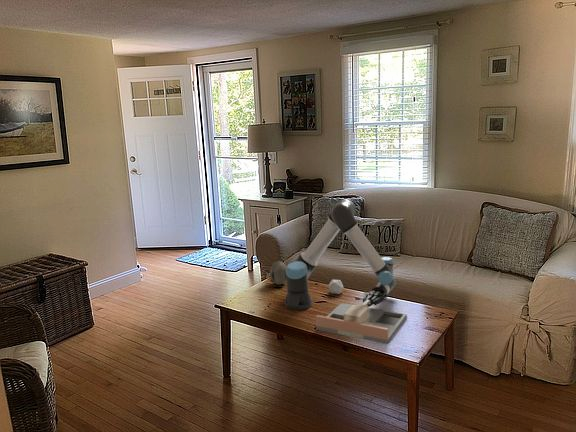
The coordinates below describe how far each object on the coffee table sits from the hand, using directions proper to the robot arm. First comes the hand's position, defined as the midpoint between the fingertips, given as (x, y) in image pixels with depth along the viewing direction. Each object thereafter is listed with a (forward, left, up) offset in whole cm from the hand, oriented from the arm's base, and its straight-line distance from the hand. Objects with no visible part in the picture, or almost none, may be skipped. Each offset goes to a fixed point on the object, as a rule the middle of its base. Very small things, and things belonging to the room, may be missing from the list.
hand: (363, 307), depth 228 cm
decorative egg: (-68, +30, -8) cm, 75 cm away
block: (0, -9, -6) cm, 11 cm away
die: (-29, +30, -8) cm, 43 cm away
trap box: (0, -2, -8) cm, 8 cm away
